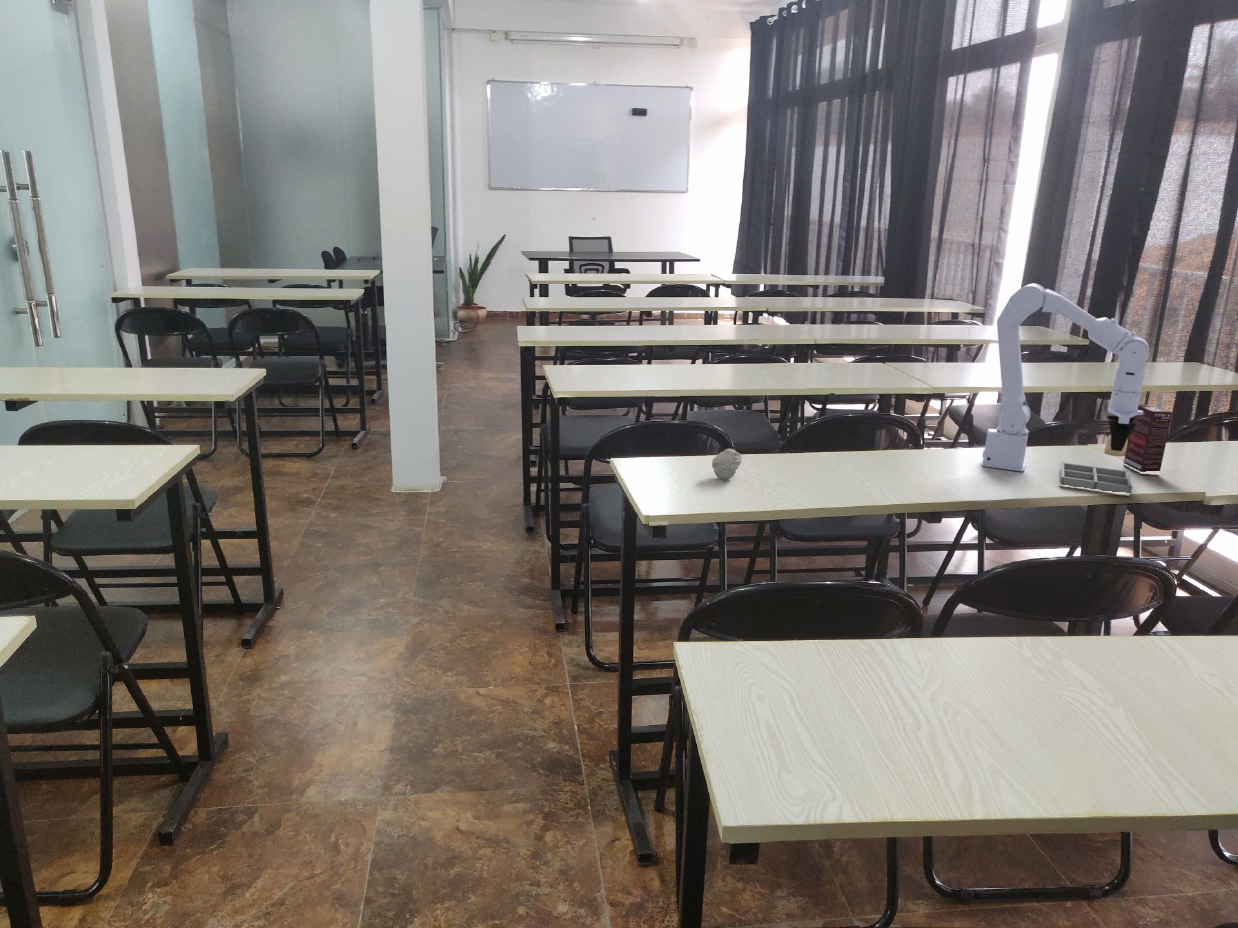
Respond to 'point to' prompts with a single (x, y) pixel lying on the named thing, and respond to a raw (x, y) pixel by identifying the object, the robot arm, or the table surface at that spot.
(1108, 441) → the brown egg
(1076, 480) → the gray divided compartment tray
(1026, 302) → the robot arm
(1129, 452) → the supplement box
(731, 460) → the grey rounded lump
